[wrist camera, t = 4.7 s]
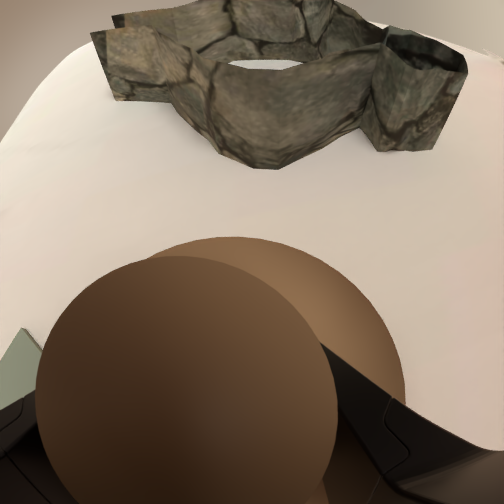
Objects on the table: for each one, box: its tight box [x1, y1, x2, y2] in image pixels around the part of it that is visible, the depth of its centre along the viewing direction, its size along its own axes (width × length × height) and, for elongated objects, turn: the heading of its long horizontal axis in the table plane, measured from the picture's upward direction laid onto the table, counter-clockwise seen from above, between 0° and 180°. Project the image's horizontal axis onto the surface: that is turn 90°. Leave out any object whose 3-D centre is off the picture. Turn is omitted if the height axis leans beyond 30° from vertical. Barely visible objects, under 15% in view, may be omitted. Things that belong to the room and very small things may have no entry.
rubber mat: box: [0, 327, 42, 410], centre depth 16 cm, size 15×15×1 cm
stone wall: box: [90, 0, 468, 170], centre depth 26 cm, size 35×19×10 cm, turn 76°
